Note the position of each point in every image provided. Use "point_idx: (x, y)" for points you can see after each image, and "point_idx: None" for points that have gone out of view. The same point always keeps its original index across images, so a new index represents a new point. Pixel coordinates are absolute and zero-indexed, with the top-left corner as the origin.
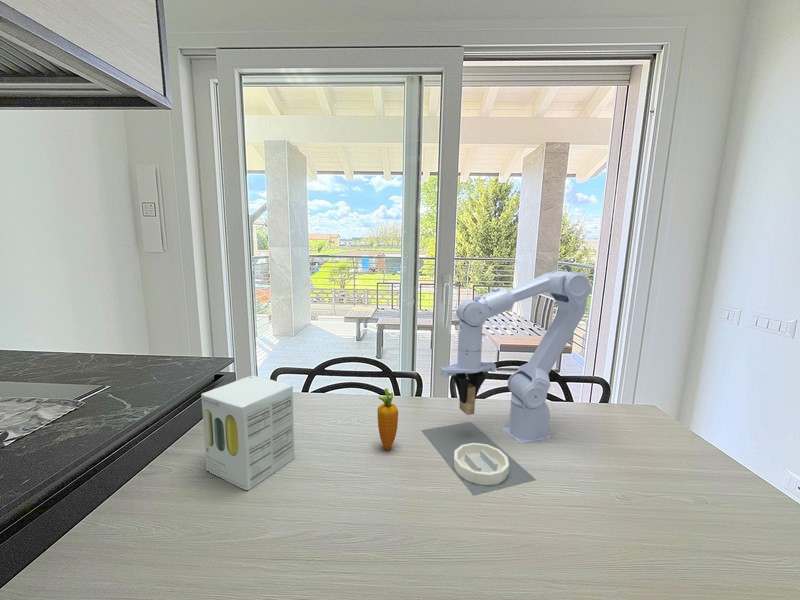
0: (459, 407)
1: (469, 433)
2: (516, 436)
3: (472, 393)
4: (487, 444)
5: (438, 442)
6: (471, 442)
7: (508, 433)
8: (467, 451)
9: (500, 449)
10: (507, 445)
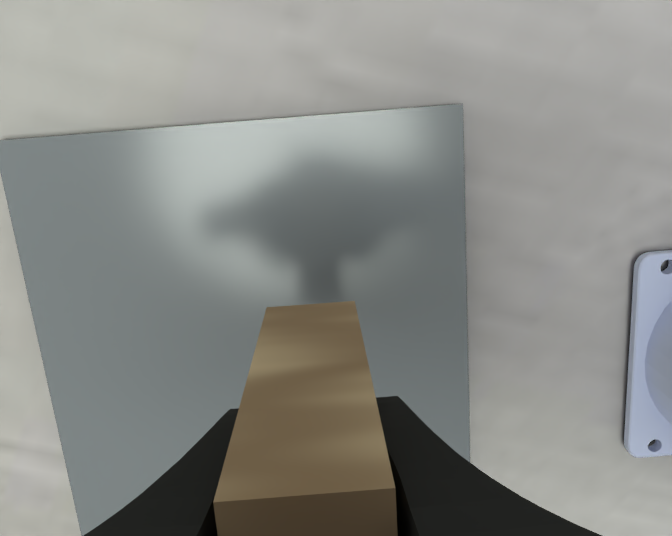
0: (266, 311)
1: (360, 274)
2: (654, 400)
3: None
4: None
5: (89, 336)
6: None
7: (635, 339)
8: None
9: None
10: (541, 432)
